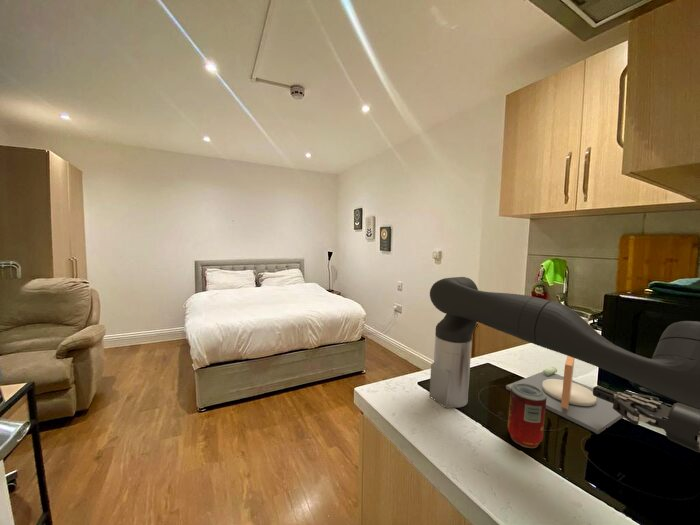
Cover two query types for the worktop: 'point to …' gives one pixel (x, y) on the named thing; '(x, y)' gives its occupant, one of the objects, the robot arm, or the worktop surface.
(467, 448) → the worktop surface
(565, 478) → the worktop surface
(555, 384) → the dial lever
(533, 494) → the worktop surface
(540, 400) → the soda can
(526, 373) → the worktop surface
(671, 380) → the robot arm
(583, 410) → the board
